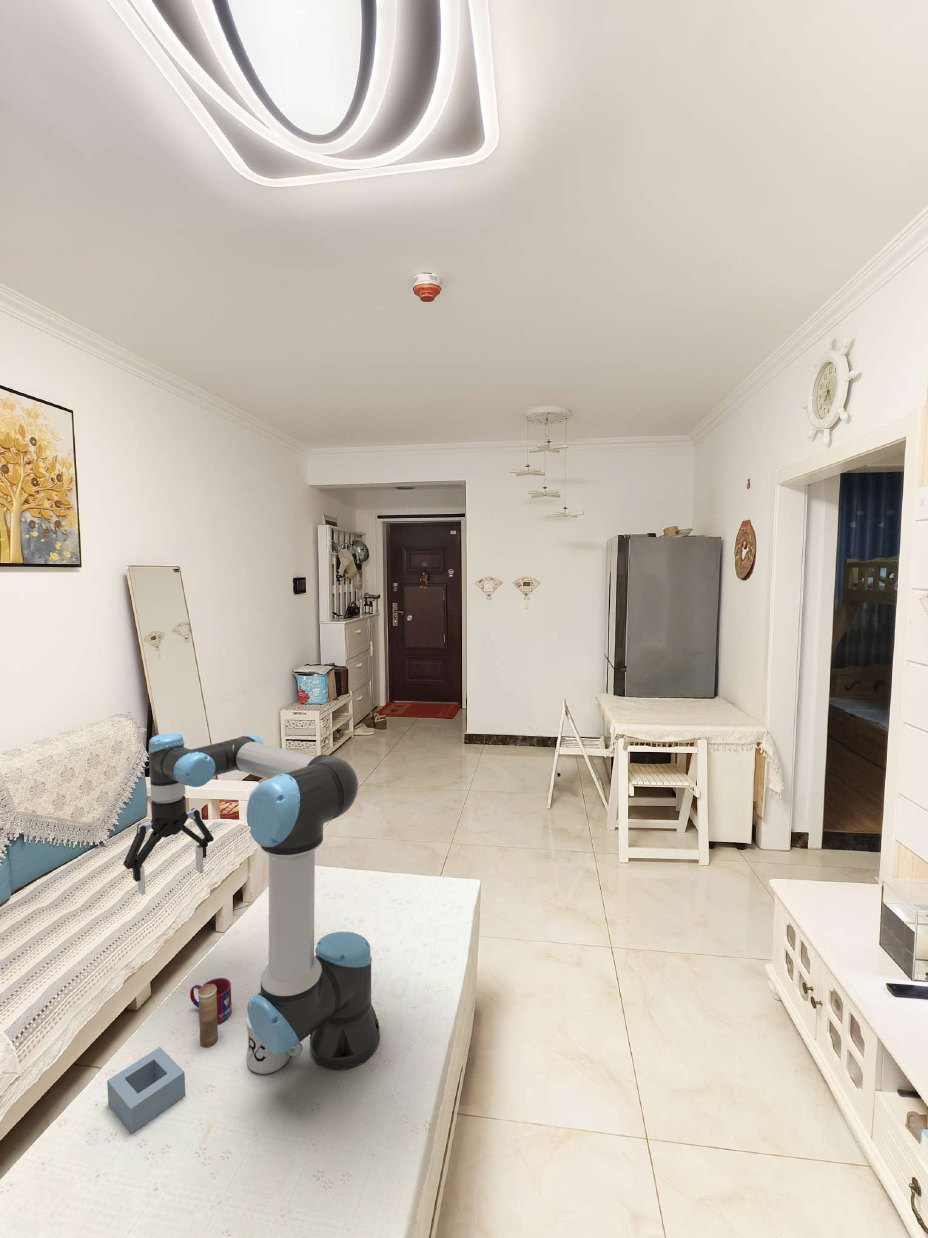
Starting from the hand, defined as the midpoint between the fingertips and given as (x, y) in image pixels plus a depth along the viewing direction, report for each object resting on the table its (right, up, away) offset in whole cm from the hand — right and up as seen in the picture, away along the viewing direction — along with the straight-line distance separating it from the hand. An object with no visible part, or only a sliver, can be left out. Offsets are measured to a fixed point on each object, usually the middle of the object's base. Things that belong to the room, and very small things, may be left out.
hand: (171, 881), depth 143 cm
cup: (+13, -28, -7) cm, 31 cm away
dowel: (+16, -28, -15) cm, 36 cm away
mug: (+32, -29, -20) cm, 48 cm away
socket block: (+10, -29, -30) cm, 43 cm away
